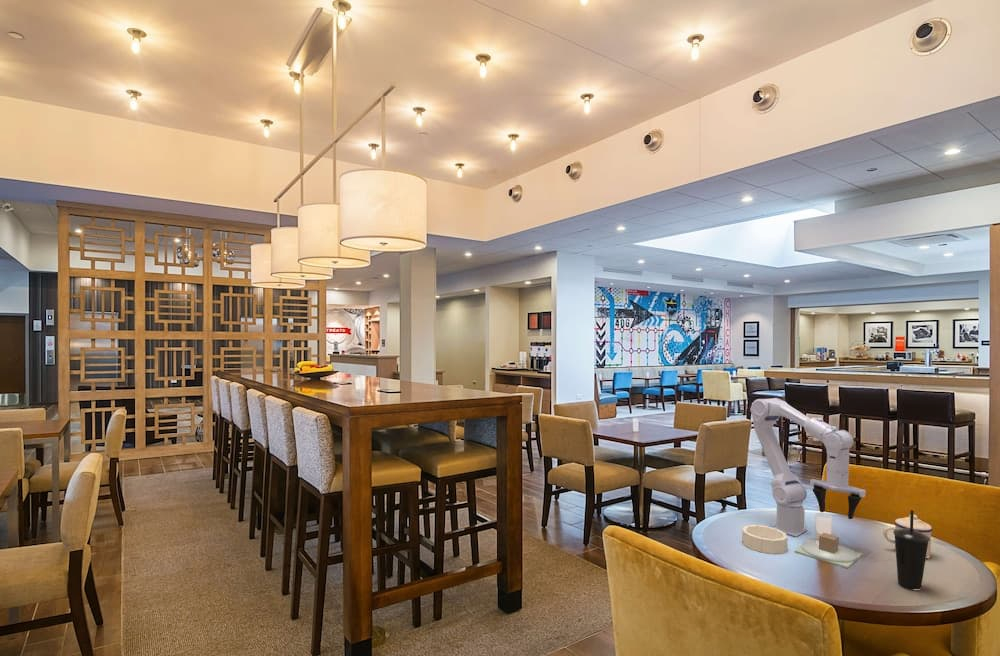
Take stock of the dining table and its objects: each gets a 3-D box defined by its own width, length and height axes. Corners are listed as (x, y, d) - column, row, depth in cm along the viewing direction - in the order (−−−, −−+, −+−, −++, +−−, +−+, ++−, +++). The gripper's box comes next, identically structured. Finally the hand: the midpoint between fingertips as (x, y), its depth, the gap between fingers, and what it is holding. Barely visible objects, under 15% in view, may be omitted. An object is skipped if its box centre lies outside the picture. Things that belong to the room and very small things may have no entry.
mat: (811, 540, 173) (811, 539, 173) (862, 555, 163) (862, 553, 163) (794, 552, 164) (794, 550, 164) (847, 568, 153) (847, 566, 153)
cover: (811, 539, 173) (811, 524, 173) (862, 553, 163) (863, 537, 162) (794, 550, 164) (794, 534, 164) (847, 567, 153) (848, 550, 153)
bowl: (752, 534, 177) (753, 522, 177) (792, 546, 168) (793, 533, 168) (735, 544, 169) (735, 531, 169) (776, 557, 160) (777, 543, 160)
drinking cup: (930, 596, 138) (932, 517, 138) (892, 588, 142) (895, 511, 142) (926, 584, 145) (928, 509, 145) (890, 576, 149) (893, 503, 149)
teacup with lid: (924, 550, 168) (925, 512, 167) (936, 562, 159) (937, 522, 159) (878, 544, 172) (879, 507, 172) (887, 555, 163) (889, 516, 163)
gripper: (807, 467, 170) (805, 511, 170) (861, 478, 159) (859, 524, 159) (815, 464, 174) (814, 506, 175) (868, 474, 164) (867, 519, 164)
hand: (836, 514), depth 167 cm, fingers open, 7 cm apart
